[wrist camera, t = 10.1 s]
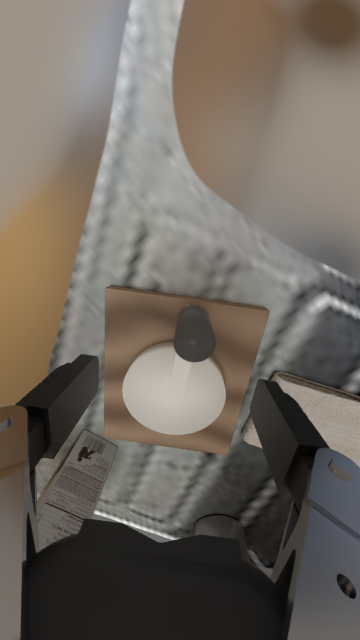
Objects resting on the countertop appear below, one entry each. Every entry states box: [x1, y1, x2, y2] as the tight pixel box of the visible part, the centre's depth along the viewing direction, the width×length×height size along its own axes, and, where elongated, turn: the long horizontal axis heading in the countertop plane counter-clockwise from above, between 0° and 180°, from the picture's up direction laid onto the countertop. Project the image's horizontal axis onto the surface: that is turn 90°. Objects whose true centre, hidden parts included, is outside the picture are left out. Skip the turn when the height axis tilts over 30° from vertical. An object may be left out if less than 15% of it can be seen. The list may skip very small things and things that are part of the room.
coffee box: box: [37, 430, 117, 550], centre depth 25 cm, size 9×6×16 cm
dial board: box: [104, 285, 270, 455], centre depth 26 cm, size 22×18×2 cm
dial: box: [122, 305, 226, 435], centre depth 21 cm, size 18×12×8 cm
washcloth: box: [242, 372, 360, 467], centre depth 27 cm, size 12×18×3 cm, turn 73°
